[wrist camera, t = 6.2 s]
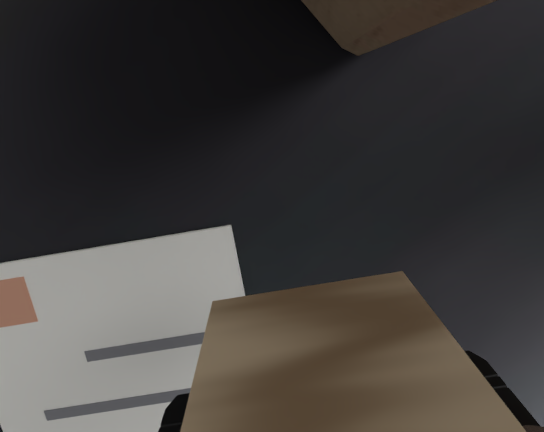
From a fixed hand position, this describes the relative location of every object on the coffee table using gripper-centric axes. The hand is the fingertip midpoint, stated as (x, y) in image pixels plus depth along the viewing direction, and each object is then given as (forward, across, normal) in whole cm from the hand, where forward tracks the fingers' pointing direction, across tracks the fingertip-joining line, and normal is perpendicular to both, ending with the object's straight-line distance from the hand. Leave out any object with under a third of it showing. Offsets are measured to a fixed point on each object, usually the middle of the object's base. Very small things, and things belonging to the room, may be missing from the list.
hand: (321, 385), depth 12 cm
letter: (+11, +10, +7) cm, 16 cm away
